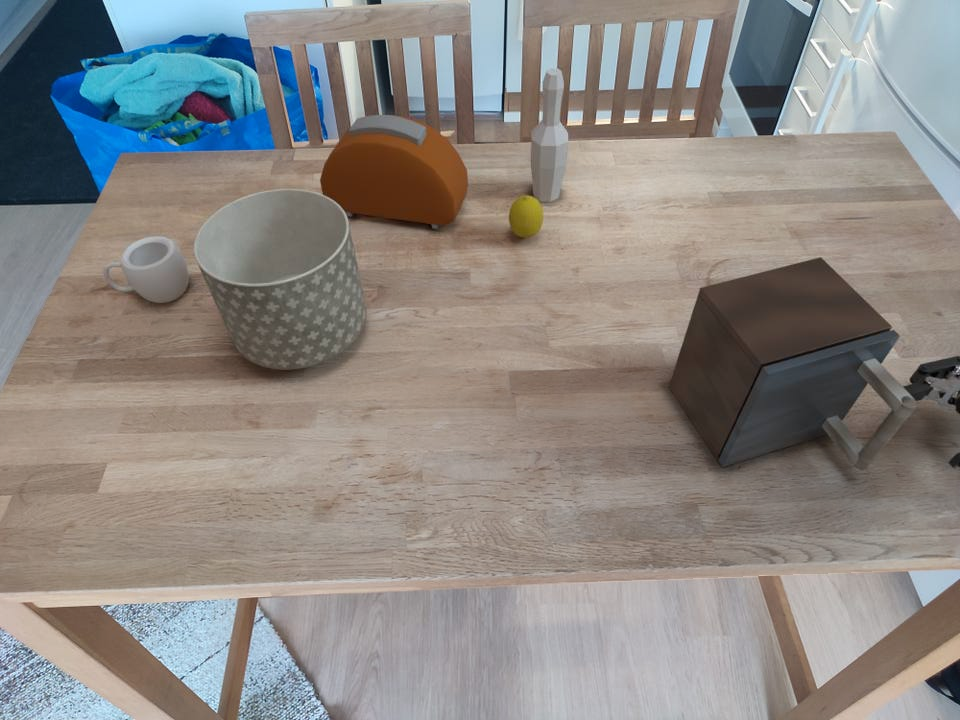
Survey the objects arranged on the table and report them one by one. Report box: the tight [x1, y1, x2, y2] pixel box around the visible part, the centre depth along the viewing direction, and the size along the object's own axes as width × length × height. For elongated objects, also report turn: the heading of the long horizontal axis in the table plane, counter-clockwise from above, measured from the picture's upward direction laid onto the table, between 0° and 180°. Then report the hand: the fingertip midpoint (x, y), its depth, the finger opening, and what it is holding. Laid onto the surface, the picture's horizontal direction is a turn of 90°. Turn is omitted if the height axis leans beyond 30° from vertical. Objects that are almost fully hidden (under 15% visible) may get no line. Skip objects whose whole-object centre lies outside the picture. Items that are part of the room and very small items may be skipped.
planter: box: [193, 188, 368, 371], centre depth 89 cm, size 19×19×18 cm
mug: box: [102, 235, 190, 304], centre depth 99 cm, size 12×8×8 cm
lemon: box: [508, 194, 544, 239], centre depth 106 cm, size 6×6×8 cm
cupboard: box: [668, 257, 893, 460], centre depth 79 cm, size 12×16×18 cm
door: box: [717, 329, 918, 471], centre depth 72 cm, size 8×16×18 cm, turn 108°
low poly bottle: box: [530, 67, 569, 203], centre depth 108 cm, size 6×6×22 cm
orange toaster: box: [319, 114, 469, 230], centre depth 108 cm, size 23×9×17 cm, turn 76°
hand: (925, 429), depth 72 cm, fingers open, 8 cm apart
